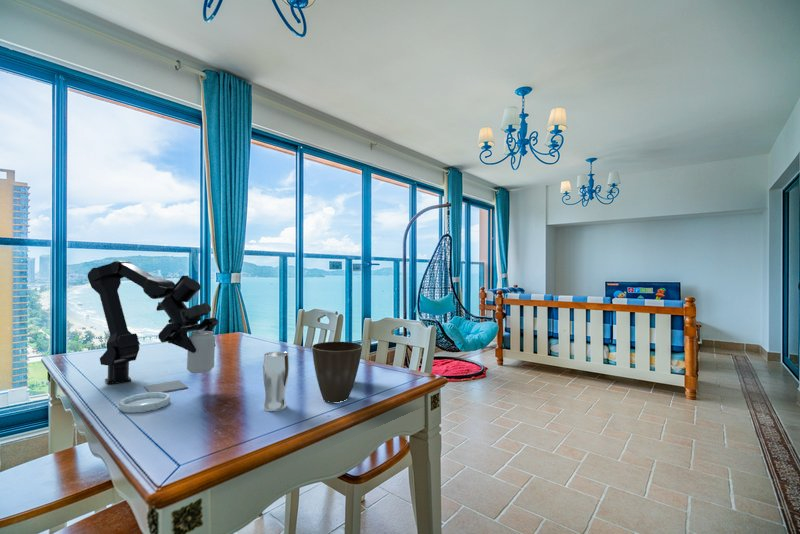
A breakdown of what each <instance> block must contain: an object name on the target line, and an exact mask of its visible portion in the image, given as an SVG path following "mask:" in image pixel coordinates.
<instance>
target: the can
mask: <svg viewBox="0 0 800 534" xmlns="http://www.w3.org/2000/svg"><path fill="white" fill-rule="evenodd" d="M188 337H189V339H190V340H191V342H192V344H193V345H194V347H195V349H196V352H195V353H192V352H190V351H188V350H187V358H186V359H187V360H186V369H187V370H188V372H190V373H193V374H201V373H202V374H203V373H207V372H210V371H212V370H213V368H214V367H215V351H216V350H215V349H216V348H215V347H216V346H215V345H216V336H215V335H214V331H213V332H211V331H192V332H190V336H188Z"/></svg>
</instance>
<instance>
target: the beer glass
mask: <svg viewBox="0 0 800 534" xmlns="http://www.w3.org/2000/svg"><path fill="white" fill-rule="evenodd" d="M289 358H290V356H289V352H287V351H269V352H266V353H263V363H262V379H263V380H262V381H263V385H264V393H265V395H264V403H263V411H265V412H269V411H271V412H272V411H275V412H280V411H279V410H281V411H283V410H285V409H286V408H287V401H286V392H287V391H286V389H287V385H288V379H289V372H290V371H289V370H290V360H289ZM282 409H283V410H282ZM271 412H270V413H271Z"/></svg>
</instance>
